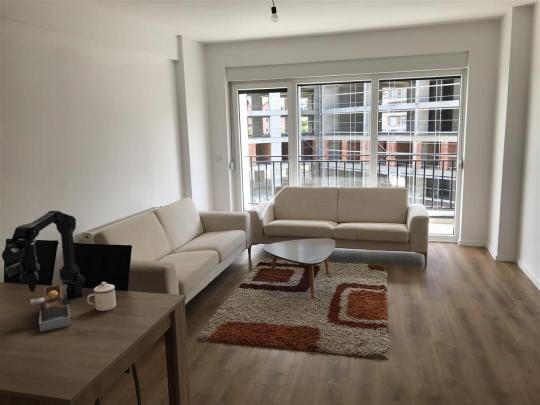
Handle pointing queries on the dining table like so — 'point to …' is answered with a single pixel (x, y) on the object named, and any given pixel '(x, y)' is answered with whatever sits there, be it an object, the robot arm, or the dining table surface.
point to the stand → (65, 302)
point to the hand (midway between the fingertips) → (32, 291)
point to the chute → (49, 302)
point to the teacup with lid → (104, 297)
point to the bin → (54, 318)
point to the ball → (53, 295)
